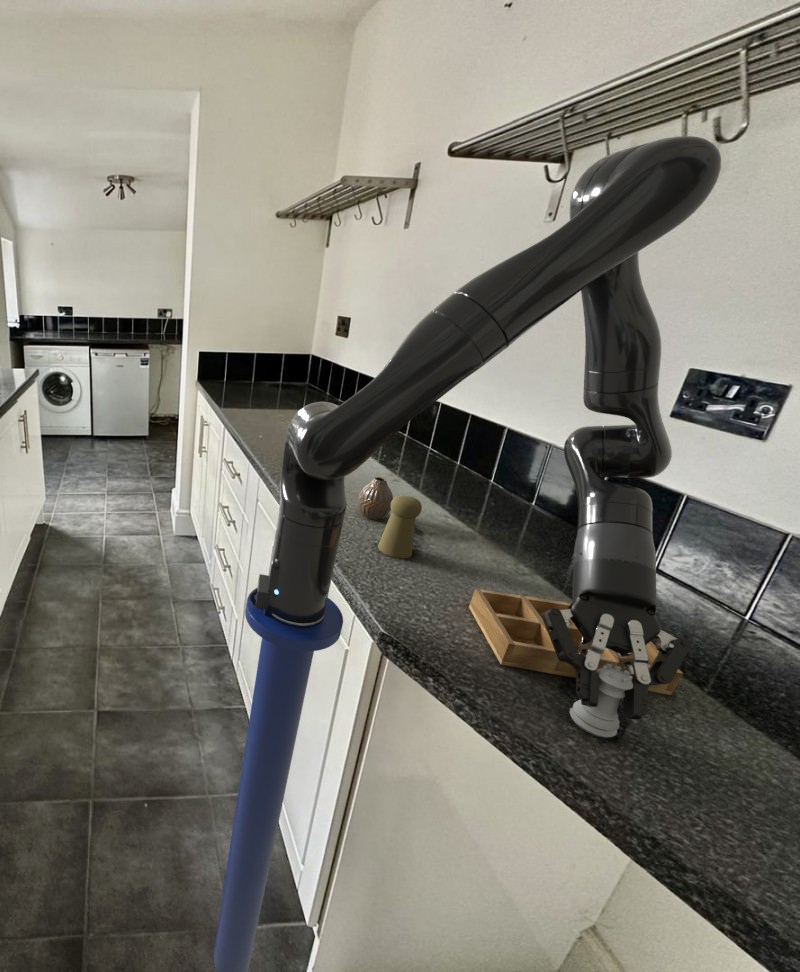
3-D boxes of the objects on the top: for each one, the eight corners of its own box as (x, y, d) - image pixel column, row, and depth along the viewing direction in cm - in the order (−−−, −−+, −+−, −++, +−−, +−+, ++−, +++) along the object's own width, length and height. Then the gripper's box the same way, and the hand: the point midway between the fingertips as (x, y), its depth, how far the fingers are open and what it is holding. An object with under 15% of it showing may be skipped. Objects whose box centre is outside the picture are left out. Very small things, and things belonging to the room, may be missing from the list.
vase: (389, 513, 113) (397, 476, 109) (388, 525, 107) (397, 487, 103) (356, 506, 115) (364, 471, 112) (354, 518, 109) (362, 481, 106)
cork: (409, 561, 93) (424, 508, 89) (375, 552, 96) (388, 499, 92) (413, 548, 98) (427, 496, 94) (380, 539, 101) (392, 489, 97)
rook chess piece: (562, 719, 60) (586, 667, 57) (575, 703, 63) (600, 652, 60) (608, 746, 57) (637, 692, 54) (621, 728, 59) (649, 676, 56)
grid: (500, 664, 69) (508, 643, 67) (468, 607, 81) (475, 588, 79) (671, 695, 65) (683, 673, 63) (610, 630, 77) (620, 610, 75)
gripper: (557, 544, 61) (550, 689, 56) (709, 573, 56) (717, 736, 51) (533, 561, 68) (523, 692, 62) (666, 589, 63) (669, 734, 57)
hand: (610, 711), depth 57 cm, fingers closed on rook chess piece, 3 cm apart
